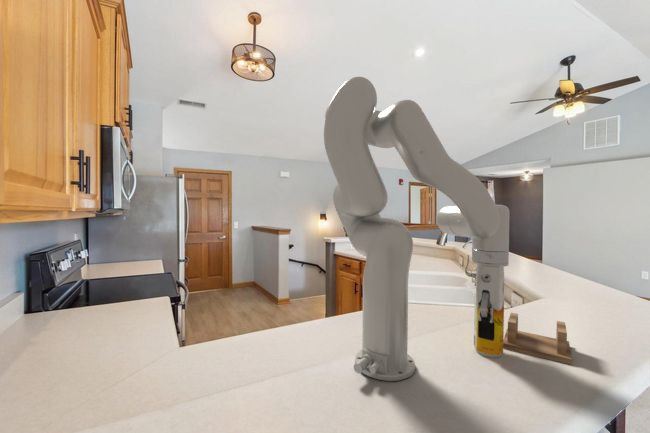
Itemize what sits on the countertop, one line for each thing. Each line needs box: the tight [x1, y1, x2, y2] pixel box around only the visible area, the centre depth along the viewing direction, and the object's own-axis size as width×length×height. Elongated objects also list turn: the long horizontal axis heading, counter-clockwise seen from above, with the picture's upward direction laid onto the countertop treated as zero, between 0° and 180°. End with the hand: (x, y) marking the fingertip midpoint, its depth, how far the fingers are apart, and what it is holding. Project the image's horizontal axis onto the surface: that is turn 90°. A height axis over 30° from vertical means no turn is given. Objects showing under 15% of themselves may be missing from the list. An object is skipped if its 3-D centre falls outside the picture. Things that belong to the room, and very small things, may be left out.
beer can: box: [473, 290, 505, 358], centre depth 70 cm, size 6×6×15 cm
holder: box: [503, 312, 573, 366], centre depth 72 cm, size 11×13×6 cm
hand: (488, 332), depth 70 cm, fingers closed on beer can, 6 cm apart
